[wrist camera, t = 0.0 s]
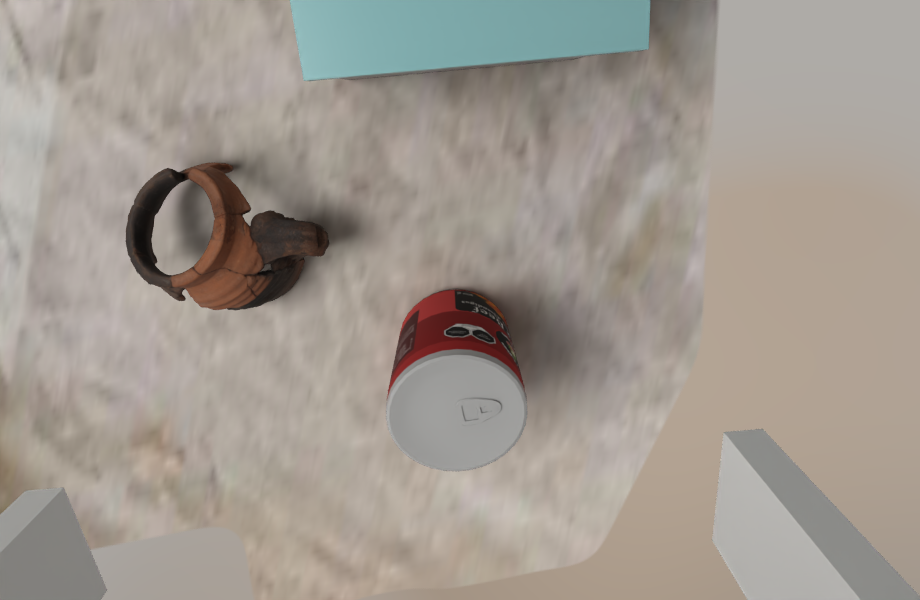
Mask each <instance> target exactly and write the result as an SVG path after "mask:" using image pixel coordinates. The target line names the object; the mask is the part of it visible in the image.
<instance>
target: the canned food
mask: <svg viewBox="0 0 920 600" xmlns="http://www.w3.org/2000/svg"><path fill="white" fill-rule="evenodd" d="M526 419H527V398H526V393H525V389H524V384H523V380H522V377H521V373H520V370H519V366H518V362H517V359H516V355H515V351H514V348H513V344H512V340H511V337H510V333H509V329H508V326H507V323H506V320H505V318H504V316H503V315H502V313H501V311H500V310H499V309H498V308H497V307H496V306H495V305H494V304H493V303H492V302H490V301H489V300H488V299H486V298H485V297H483V296H481V295H478V294H476V293H474V292H470V291H466V290H445V291H441V292H438V293H434V294H432V295H430V296H429V297H427V298H425V299H423V300H422V301H421V302H419V303H418V304H417V305H415V306H414V307H413V309H412V310H411V311H410V312H409V313H408V315H407V316H406V318H405V320H404V322H403V325H402V328H401V332H400V336H399V341H398V346H397V351H396V356H395V360H394V365H393V370H392V375H391V380H390V385H389V390H388V397H387V404H386V420H387V425H388V430H389V432H390V434H391V437H392V439H393V441H394V442H395V443H396V445H397V446H398V447H399V449H400V450H401V451H402V452H404V453H405V454H406V455H407V456H408V457H409V458H411V459H413V460H414V461H416V462H418V463H419V464H422V465H424V466H427V467H430V468H433V469H438V470H443V471H465V470H472V469H476V468H479V467H483V466H485V465H487V464H490V463H492V462H494V461H496V460H497V459H499V458H500V457H502V456H503V455H505V454H506V453H507V452H508V451H509V450H510V449H511V448H512V447H513V446H514V445H515V444H516V442H517V441H518V439H519V438H520V436H521V435H522V432H523V430H524V427H525V425H526Z"/></svg>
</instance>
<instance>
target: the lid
mask: <svg viewBox="0 0 920 600" xmlns="http://www.w3.org/2000/svg"><path fill="white" fill-rule="evenodd" d="M290 4H291V10H292V15H293V21H294V27H295V33H296V39H297V44H298V50H299V56H300V62H301V67H302V73H303V79H304V81H316V80H327V79H338V78H349V77H360V76H371V75H382V74H393V73H404V72H415V71H426V70H437V69H448V68H459V67H470V66H481V65H492V64H503V63H514V62H525V61H536V60H547V59H558V58H569V57H580V56H591V55H601V54H612V53H623V52H634V51H643V50H647V49H649V24H650V0H290Z"/></svg>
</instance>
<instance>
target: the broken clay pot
mask: <svg viewBox="0 0 920 600" xmlns="http://www.w3.org/2000/svg"><path fill="white" fill-rule="evenodd" d="M232 170H233V166H231V165H228V164H226V163H205V164H201V165H197V166H194V167H191V168H188V169H185V170H183V171H181V172H177V171H175V170H173V169H169V168H167V169H164V170H162V171H161V172H158V173H157V174H156V175H154V176H153V177H152V178H151V179H150V180H149V181H148V182H147V183H146V184H145V185H144V186H143V187H142V189H141V190H140V191H139V193H138V195H137V197H136V199H135V201H134V205H133V206H132V208H131V210H130V213H129V215H128V223H127V227H126V246H127V250H128V255H129V257H130V258H131V262H132V264H133V266H134V267H135V269H136V271H137V273H139V274H140V275H141V277H142V278H143V279H144V280H145V281H147V282H148V283H149V284H153V285H156V286H158V287H161V288H162V289H163V290H164V291H166V292H167V293H168V294H169V295H170V296H172V297H173V298H175V299H176V300H178V301H184V300H185V297H184V296H183V295H182V291H183V290H184V289H186V290H187V291H188V293H189V295H190V296H191V297H192V298H193V299H194V301H195V302H196V303H198V304H199V305H200V306H201V307H206V308H210V309H213V310H221V309H226V308H227V309H228V310H231V309H232V310H240V309H247V308H253V307H258V306H261V305H262V304H264V303H266V302H269V301H273V300H275V299H277V298H279V297H280V296H282V295H284V294H285V293H286V292H287V291H288V290H289V289H290V288H291V287H292V286H293V285H294V284H295V282H296V281H297V279H298V277H299V274H300V272H301V270H302V267H303V264H304V259H302V258H303V257H305V256H323V255H324V253H325V251H326V249H327V247H328V245H329V240H328V234H327V232H326V231H324V229H323V228H322V227H321V226H320V225H317V224H314V223H311V222H305V221H297V220H295V219H294V218H288V217H284V215H282V214H279V213H276V212H274V211H266V212H264V213H259V214H257V215H256V216H254V217H253V219H252V221H251V226H249V225H248V224H247V223H246V222H245V220H244V218H243V214H246V213H248V212H250V210H251V207H250V205H249V203H248V202H247V201H246V199H245V197H244V196H243V195H242V194H241V192H240V190H239V188H238V187H237V186H236V185H235V184H234V183H233V182H232V181H231V180H230V179H229V178H228V177H227V176H226V175H225V174H224V173H227V172H230V171H232ZM188 179H190V180H191V181H193V182H195V183H197V184H198V185H200V186H201V187H202V188H203V189H204V190H205V192H206V193H207V195H208V197H209V199H210V202H211V205H212V209H213V213H214V217H215V220H214V227H213V232H212V236H211V239H210V242H209V244H208V247H207V249H206V251H205V252H204V254H203V255H202V257H201V258H200V260H199V261H198V262H197V263H196V264H195V265H194V266H193V267H192V268H190V269H189V270H187V271H185V272H183V273H180V274H176V275H166V274H164V273H163V272H161V271H160V270H159V269H158V268H157V267H156V266H155V264H156V263H157V259H156V256H155V255H154V253H153V249H152V242H151V238H152V232H153V227H154V217H155V215H156V214H157V213H158V211H159V210H160V208H161V206H162V204H163V202H164V200H165V198H166V197H167V195H168V194H169V193H170V191H171V190H172V189H173V188H174V187H175V186H176V185H178V184H179V183H181V182H183V181H185V180H188ZM265 264H271V267H272V269H271V270H267V271H262V272H260V271H261V270H262V269H263V268H264V265H265Z"/></svg>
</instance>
